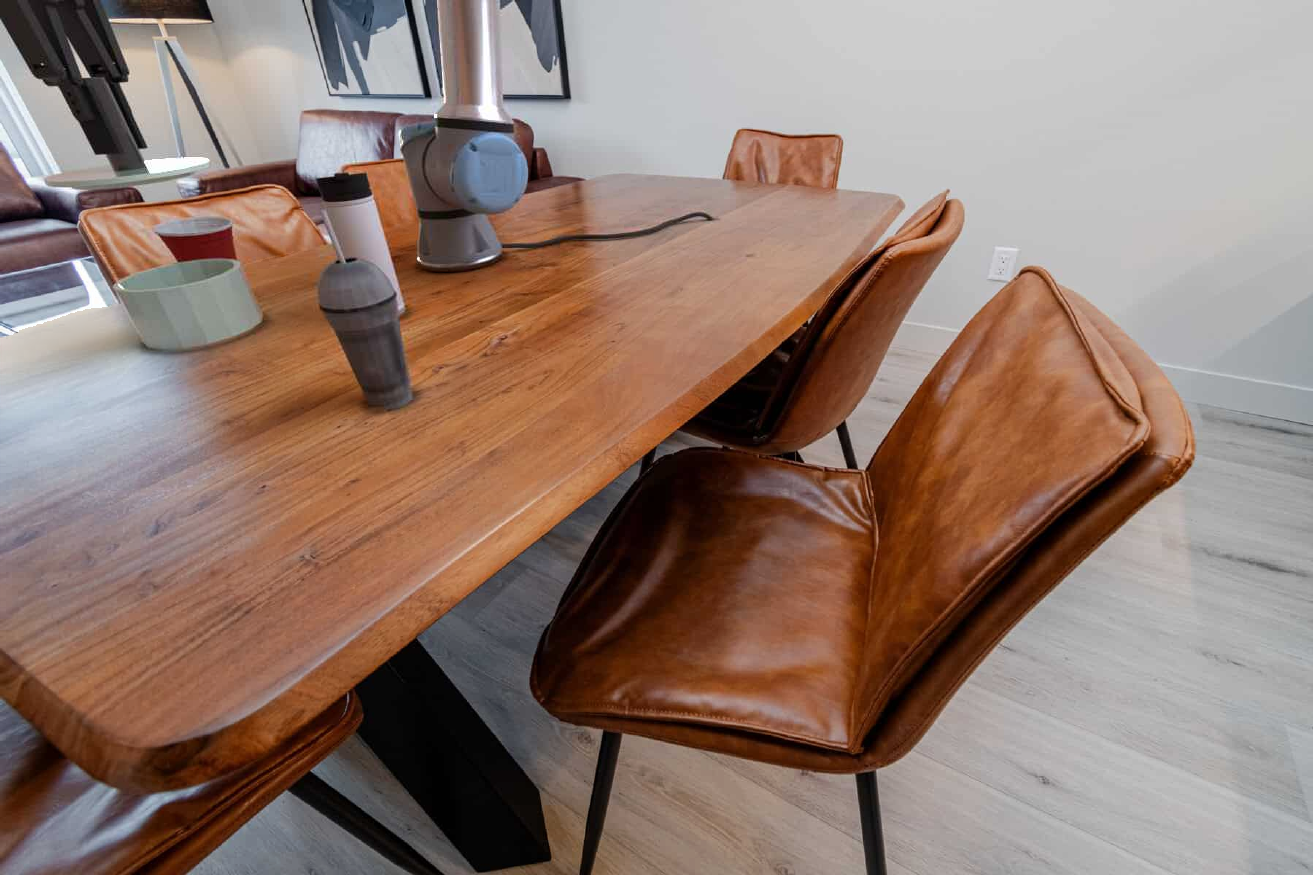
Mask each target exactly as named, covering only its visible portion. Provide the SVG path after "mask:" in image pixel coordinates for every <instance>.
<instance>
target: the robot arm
mask: <svg viewBox="0 0 1313 875" xmlns="http://www.w3.org/2000/svg"><path fill="white" fill-rule="evenodd" d="M436 5H437V19H438V20H437V21H438V33H439V35H438V36H439V45H440V46H439V49H440V60H441V62H440V63H441V74H442V87H443V88H442V89H443V104H442V106H441V107H440V108H439V109H438V110H437V111H436V112H435V114H434V120H432V121H423V122H418V123H413V124H408V125H404V126H402V127H401V128H400V129H399V131H398V140H399V145H400V147H399V152H400V154H401V155H402V159H403V162H404V167H405V171H406V176H407V179H408V182H409V185H410V190H411V194H412V197H413V202H414V205H415V209H416V213H417V217H418V223H419V224H418V240H417V242H418V243H417V260H418V264H419V267H420V268H421V269H423V270H425V271H429V272H437V273H452V272H463V271H470V270H471V271H472V270H475V269H479V268H483V267H487V266H490V265H492V264H495V263H497V262H499V261H500V260H501V259H503V257H504V249H535V248H542V247H545V246H550V245H553V244H557V243H561V242H564V241H573V240H613V239H622V238H623V239H624V238H631V237H637V236H642V235H647V234H651V233H655V232H658V231H660V230H662V229H663V228H665V227H667V226H670V225H674V224H678V223H680V222H683V221H686V220H689V219H692V218H697V217H700V218H701V217H702V218H705V219H707V221H714V218H713V217H712V216H711V215H710V214H708V213H706V212H702V211H696V212H691V213H688V214H685V215H683V216H680V217H677V218H673V219H670V220H666V221H664V222H662V223H660V224H657V225H655V226H653V227H650V228H645V229H641V230H636V231H628V232H620V233H609V234H570V235H563V236H559V237H554V238H550V239H548V240H544V241H539V242H529V243H528V242H526V243H522V242H516V243H515V242H514V243H510V242H509V243H501V241H500V239H499V237H498V236H497V233H496V231H495V229H494V227H493V226H492V223H491V222H490V220H489V217H488V216H487V215H489V216H491V215H493V216H494V215H495V216H496V215H501V214H503V213H506V212H507V211H510V210H511V209H513V207H514V206H516V204H518V203H519V201H520V200H521V199H522V197H523V195H524V193H525V192H526V188H527V184H528V180H529V179H528V178H529V167H528V162H527V159H526V156H525V153H524V152H523V151H521V150H522V149H521V148H520V146H519V145H518V144H517V143H516V142H515V121H514V120H513V119H512V118H511V116H510V115H509V114H508V113H507V112H506V110H505V108H504V92H503V91H504V90H503V86H504V85H503V61H502V60H503V58H502V30H501V29H502V28H501V26H502V25H501V24H502V23H501V0H436ZM0 21H1V23H2V25H3V26H4V28H5V30H6V32H7V33H8V35H9V37H10V38H11V40H12V42H13V44H14V45H15V47H16V48H17V50H18V52H19V54H20V56H21V57H22V59H23V61H24V62H25V64H26V66H27V68H28V69H29V71H30V72H31V74H32V76H33V77H34V78H35V79H38V80H41V81H42V82H43V83H44V85H46V86H47V87H50V88H51V87H57V88H58V89H59V91H60V93H61V94H62V97H63V99H64V100H65V102H66V105H67V107H68V108H69V110H70V112H71V114H72V116H73V117H74V119H75V120H76V121H77V122H78V124H79V126H80V128H81V130H82V132H83V133H84V134H83V135H84V136H85V138H86V140H87V141H88V143H89V145H90V147H91V149H92V151H93V153H94V155H95V156H99V155H100V156H101V155H105V154H119V153H125V152H124V150H123V148H122V146H121V143H120V141H119V139H118V137H117V135H116V133H115V131H114V129H113V127H112V125H111V123H110V121H109V119H108V116H107V114H106V112H105V110H104V108H103V106H102V104H101V102H100V100H99V98H98V96H97V94H96V92H95V90H94V87H93V85H85V86H81V85H82V84H83V78H84V77H83V76H82V74H81V71H80V68H79V65H78V62H77V60H76V58H75V55H74V52H75V53H76V55H77V56H78V58H79V60H80V62H81V64H82V65H83V67H84V68H85V70H86V72H87V74H88V75H89V78H91V77H105V78H106V80H107V82H108V84H109V86H110V88H111V90H112V93H113V95H114V97H115V99H116V101H117V103H118V105H119V107H120V110H121V112H122V114H123V116H124V118H125V120H126V122H127V124H128V127H129V129H130V131H131V133H132V135H133V137H134V139H135V141H136V144H137V146H138V148H139V150H145V149H148V147H149V146H148V144H147V143H146V141H145V138H144V136H143V134H142V132H141V130H140V128H139V126H138V124H137V121H136V119H135V117H134V115H133V110H132V108H131V106H130V104H129V102H128V100H127V97H126V95H125V93H124V91H123V88H122V86H121V83H128V82H129V75H130V69H129V67H128V64H127V62H126V59H125V57H124V55H123V52H122V49H121V47H120V44H119V41H118V40H117V37H116V35H115V32H114V30H113V27H112V25H111V22H110V20H109V17H108V14H107V12H106V9H105V7H104V5H103V2H102V0H0ZM71 46H72V47H71ZM72 48H73V49H72ZM73 50H74V52H73Z"/></svg>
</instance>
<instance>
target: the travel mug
mask: <svg viewBox="0 0 1313 875" xmlns="http://www.w3.org/2000/svg"><path fill="white" fill-rule="evenodd" d="M315 182H316V185H317V187H318V191H319V193H320V196H321V199H322V204H323V205H324V210H325V211H326V213H327V216H328V219H329V221H330V224H331V226H332V229H333V231H334V234H335V236H336V239H337V241H338V244H339V246H340V249H341V252H342V254H343V257H344V258H349V257H356V258H361V259H364V260H367V261H369V262H371V263H373V264H375V265H376V266H377V267H379V268H380V269H381V270H382V271H383V272H384V273H385V275H386V276H387V277H388V279H389V280H390V282H391V284H392V286H393V288H394V290H395V291H396V293H397V296H396V299H397V304H398V316H401V315H402V314H404V313H405V312H406V306H405V303H404V299H403V295H402V292H401V288H400V285H399V282H398V281H399V280H398V278H397V275H396V274H397V273H396V271H395V267H394V264H393V260H392V257H391V253H390V250H389V247H388V243H387V239H386V235H385V233H384V229H383V225H382V222H381V219H380V215H379V211H378V208H377V204H376V200H375V198H374V197H375V196H374V194H373V192H372V189H371V188H370V187H371V185H370V182H369V178H368V175H367V172H360V173H352V174H351V173H350V174H349V172H348V171H347V172H346V171H345V172H337V173H333V176H325V177H316V178H315Z"/></svg>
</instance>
